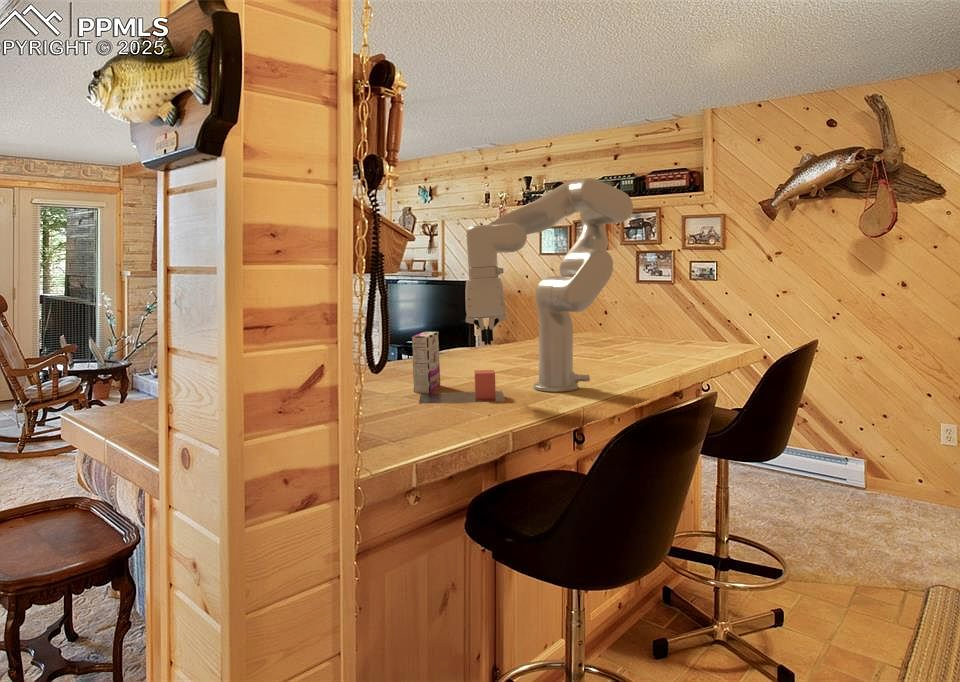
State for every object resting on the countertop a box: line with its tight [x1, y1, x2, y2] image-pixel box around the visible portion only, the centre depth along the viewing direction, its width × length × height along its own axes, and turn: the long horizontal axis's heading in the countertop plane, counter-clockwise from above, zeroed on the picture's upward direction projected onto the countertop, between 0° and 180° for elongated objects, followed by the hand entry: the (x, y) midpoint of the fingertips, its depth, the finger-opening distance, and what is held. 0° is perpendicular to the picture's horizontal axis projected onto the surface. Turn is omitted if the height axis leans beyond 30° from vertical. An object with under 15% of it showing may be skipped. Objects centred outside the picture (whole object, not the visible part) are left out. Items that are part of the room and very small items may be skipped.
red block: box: [474, 369, 496, 399], centre depth 171 cm, size 5×5×7 cm
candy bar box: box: [411, 331, 441, 394], centre depth 183 cm, size 11×5×16 cm, turn 168°
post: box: [418, 390, 506, 405], centre depth 171 cm, size 22×13×6 cm, turn 93°
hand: (487, 344), depth 170 cm, fingers closed
